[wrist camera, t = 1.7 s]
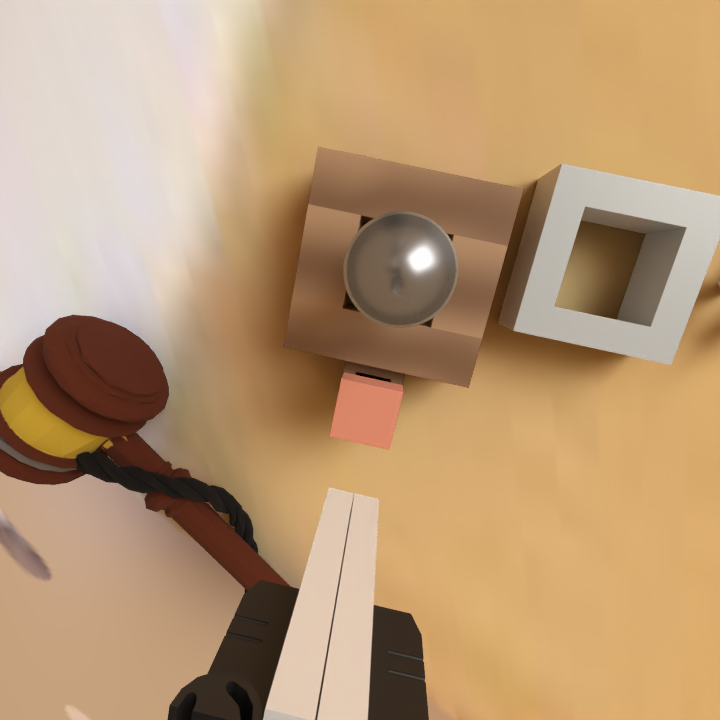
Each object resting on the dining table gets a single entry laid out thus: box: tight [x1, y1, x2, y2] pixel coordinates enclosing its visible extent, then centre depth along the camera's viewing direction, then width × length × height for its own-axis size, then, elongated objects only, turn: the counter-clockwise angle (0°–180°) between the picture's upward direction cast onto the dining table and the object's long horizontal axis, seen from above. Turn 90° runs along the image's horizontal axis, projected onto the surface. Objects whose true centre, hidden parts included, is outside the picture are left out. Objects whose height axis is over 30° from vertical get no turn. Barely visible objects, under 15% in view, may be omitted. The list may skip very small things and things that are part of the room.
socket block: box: [284, 147, 523, 388], centre depth 28 cm, size 16×12×5 cm
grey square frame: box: [497, 164, 720, 365], centre depth 27 cm, size 10×10×4 cm
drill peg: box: [343, 211, 458, 328], centre depth 23 cm, size 4×4×15 cm
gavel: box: [0, 315, 290, 593], centre depth 31 cm, size 10×34×10 cm
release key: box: [330, 372, 403, 450], centre depth 26 cm, size 4×4×6 cm
